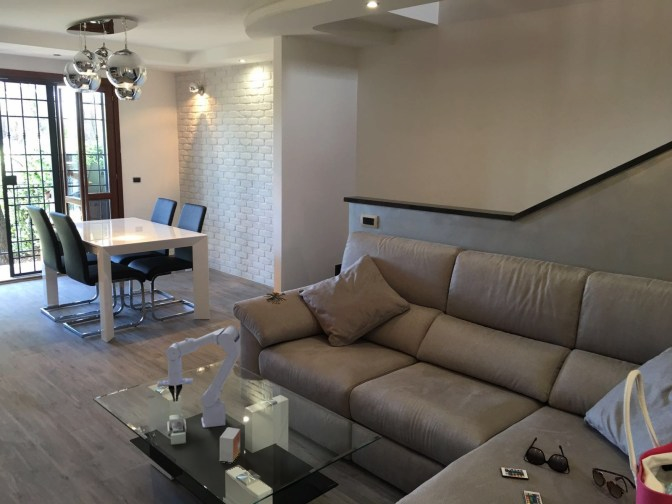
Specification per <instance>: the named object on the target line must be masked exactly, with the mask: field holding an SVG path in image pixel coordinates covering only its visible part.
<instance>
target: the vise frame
mask: <svg viewBox="0 0 672 504" xmlns="http://www.w3.org/2000/svg"><path fill="white" fill-rule="evenodd" d="M166 424H167V425H166V426H167V434H168V435H170V444H171V445H179V444H186V443H187V440H186V439H187V438H186V437H187V436H186V433H187V431H188V429H187V423H186V419H184V427H183V429H184V431H183V432H180V433H172V432H170V424H169V421H166ZM171 445H170V446H171Z"/></svg>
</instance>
